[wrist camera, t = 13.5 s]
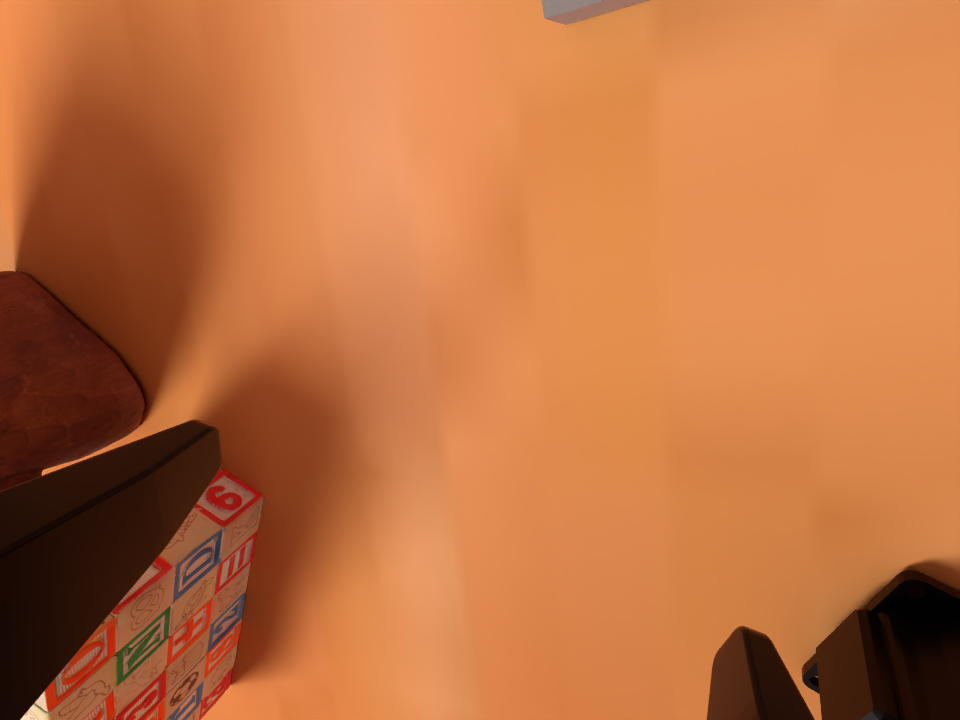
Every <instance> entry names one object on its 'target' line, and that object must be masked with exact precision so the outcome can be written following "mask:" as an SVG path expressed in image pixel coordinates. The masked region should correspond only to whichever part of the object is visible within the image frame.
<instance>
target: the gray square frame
mask: <svg viewBox="0 0 960 720" xmlns="http://www.w3.org/2000/svg"><path fill="white" fill-rule="evenodd" d="M645 1H648V0H542V4H543V11H544V18H545V19H548V20H551V21H555V22H558V23H562V24H565V25H567V24H570V23H574V22H577V21H580V20H584V19H587V18H590V17H594V16H597V15H601V14H604V13H607V12H611V11H614V10H618V9H621V8H624V7H628V6H631V5H634V4H638V3H641V2H645Z"/></svg>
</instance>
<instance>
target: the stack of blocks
mask: <svg viewBox="0 0 960 720" xmlns="http://www.w3.org/2000/svg"><path fill="white" fill-rule="evenodd" d="M263 500H264V496H263V495H262V494H260V493H259V492H257V491H256V490H254V489H253V488H251V487H250V486H248V485H247V484H245V483H244V482H242V481H240V480H239V479H237V478H236V477H234V476H233V475H231V474H230V473H228V472H226V471H225V470H223V469H221V468H220V469H219V471H218V473H217V474H216V476H215V477H214V479H213V480H212V482H211V483H210V484H209V486H208V487H207V489H206V490H205V492H204V493H203V495H202V496H201V498H200V499H199V501H198V502H197V503H196V505H195V506H194V508H193V509H192V511H191V512H190V514H189V515H188V517H187V518H186V520H185V521H184V522H183V524H182V525H181V527H180V528H179V530H178V531H177V533H176V534H175V536H174V537H173V538H172V540H171V541H170V542H169V544H168V545H167V546H166V548H165V549H164V550H163V551H162V553H161V554H160V555H159V556H158V558H157V559H156V560H155V561H154V562H153V564H152V565H151V566H150V567H149V568H148V569H147V571H146V572H145V573H144V574H143V575H142V577H141V578H140V579H139V580H138V581H137V582H136V584H135V585H134V586H133V587H132V588H131V590H130V591H129V592H128V593H127V594H126V595H125V597H124V598H123V599H122V600H121V601H120V603H119V604H118V605H117V606H116V607H115V608H114V610H113V611H112V612H111V613H110V614H109V616H108V617H107V618H106V619H105V620H104V621H103V623H102V624H101V625H100V626H99V627H98V629H97V630H96V631H95V632H94V633H93V634H92V636H91V637H90V638H89V639H88V640H87V642H86V643H85V644H84V645H83V646H82V647H81V649H80V650H79V651H78V652H77V653H76V655H75V656H74V657H73V658H72V659H71V661H70V662H69V663H68V664H67V665H66V666H65V668H64V669H63V670H62V671H61V672H60V674H59V675H58V676H57V677H56V678H55V679H54V681H53V682H52V683H51V684H50V685H49V687H48V688H47V689H46V690H45V691H44V692H43V694H42V695H41V696H40V697H39V698H38V700H37V701H36V702H35V703H34V704H33V705H32V707H31V708H30V709H29V710H28V711H27V713H26V714H25V715H24V716H23V717H22V718H21V720H200V719H201V718H202V717H203V716H204V715H205V714H206V713H207V712H208V711H209V709H210V708H211V707H212V706H213V705H214V704H215V703H216V702H217V701H218V699H219V698H220V697H221V696H222V695H223V694H224V692H225V691H226V690H227V689H228V688H229V686H230V681H231V673H232V668H233V665H234V663H235V657H236V652H237V643H238V640H239V635H240V630H241V624H242V618H241V617H242V613H243V607H244V601H245V596H246V588H247V582H248V577H249V571H250V564H251V562H252V559H253V554H254V548H255V542H256V536H257V531H258V527H259V522H260V517H261V511H262V505H263Z"/></svg>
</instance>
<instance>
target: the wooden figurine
mask: <svg viewBox="0 0 960 720" xmlns="http://www.w3.org/2000/svg"><path fill="white" fill-rule="evenodd" d="M144 408H145V404H144V399H143V396H142V393H141V390H140V388H139V386H138V384H137V382H136V380H135V379H134V378H133V376H132V375H131V374H130V373H129V371H128V370H127V369H126V367H125V366H124V364H123V362H122V361H121V359H120V358H119V357H118V355H117V354H116V353H115V352H114V351H113V350H111V349H110V348H109V347H108V346H107V345H106V344H105V343H104V342H103V341H101V340H100V339H99V338H98V337H97V336H96V335H95V334H94V333H93V332H91V331H90V330H89V329H87V328H86V327H85V326H84V325H83V324H82V323H81V322H80V321H79V320H77V319H76V318H75V317H73V316H72V315H71V314H70V313H69V312H68V311H67V310H66V309H65V308H64V307H63V306H62V305H61V304H60V303H59V302H58V301H56V300H55V299H54V298H53V297H52V296H51V295H50V294H49V293H48V292H46V291H45V290H44V289H43V288H42V287H41V286H40V285H39V284H38V283H36V282H35V281H34V280H33V279H32V278H31V277H30V276H29V275H28V274H26V273H21V272H14V271H3V272H0V491H2V490H5V489H8V488H10V487H13V486H16V485H19V484H21V483H24V482H27V481H29V480H32V479H35V478H37V477H40V476H41V475H42V471H43V470H44V469H47V468H50V467H54V466H57V465H60V464H63V463H67V462H71V461H74V460H77V459H80V458H83V457H85V456H88V455H90V454H92V453H94V452H96V451H98V450H100V449H102V448H104V447H107V446H109V445H110V444H112V443H114V442H116V441H118V440H120V439H122V438H124V437H126V436H127V435H129V434H130V433H132V432H133V431H134V430H136V429H137V428H138V427H139V424H140V422H141V420H142V414H143V410H144Z"/></svg>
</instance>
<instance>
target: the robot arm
mask: <svg viewBox="0 0 960 720" xmlns="http://www.w3.org/2000/svg"><path fill="white" fill-rule="evenodd" d="M221 462H222V455H221V444H220V433H219V430H218V428H217V427H216V426H214V425H211V424H209V423H206V422H203V421H201V420H191V421H188V422H185V423H183V424H180V425H177V426H175V427H172V428H169V429H166V430H164V431H161V432H158V433H156V434H153V435H150V436H148V437H145V438H142V439H140V440H137V441H134V442H132V443H129V444H126V445H123V446H121V447H118V448H115V449H113V450H110V451H107V452H105V453H102V454H99V455H97V456H94V457H91V458H88V459H86V460H83V461H80V462H78V463H75V464H72V465H70V466H67V467H64V468H62V469H59V470H56V471H54V472H51V473H48V474H45V475H43V476H40V477H37V478H35V479H32V480H29V481H27V482H24V483H21V484H19V485H16V486H13V487H10V488H8V489H5V490H2V491H0V720H21V718H22V717H23V716H24V715H25V714H26V713H27V711H28V710H29V709H30V708H31V707H32V705H33V704H34V703H35V702H36V701H37V700H38V698H39V697H40V696H41V695H42V694H43V692H44V691H45V690H46V689H47V688H48V687H49V685H50V684H51V683H52V682H53V681H54V679H55V678H56V677H57V676H58V675H59V674H60V672H61V671H62V670H63V669H64V668H65V666H66V665H67V664H68V663H69V662H70V661H71V659H72V658H73V657H74V656H75V655H76V653H77V652H78V651H79V650H80V649H81V647H82V646H83V645H84V644H85V643H86V642H87V640H88V639H89V638H90V637H91V636H92V634H93V633H94V632H95V631H96V630H97V629H98V627H99V626H100V625H101V624H102V623H103V621H104V620H105V619H106V618H107V617H108V616H109V614H110V613H111V612H112V611H113V610H114V608H115V607H116V606H117V605H118V604H119V603H120V601H121V600H122V599H123V598H124V597H125V595H126V594H127V593H128V592H129V591H130V590H131V588H132V587H133V586H134V585H135V584H136V582H137V581H138V580H139V579H140V578H141V577H142V575H143V574H144V573H145V572H146V571H147V569H148V568H149V567H150V566H151V565H152V564H153V562H154V561H155V560H156V559H157V558H158V556H159V555H160V554H161V553H162V551H163V550H164V549H165V548H166V546H167V545H168V544H169V542H170V541H171V540H172V538H173V537H174V536H175V534H176V533H177V531H178V530H179V528H180V527H181V525H182V524H183V522H184V521H185V520H186V518H187V517H188V515H189V514H190V512H191V511H192V509H193V508H194V506H195V505H196V503H197V502H198V501H199V499H200V498H201V496H202V495H203V493H204V492H205V490H206V489H207V487H208V486H209V484H210V483H211V482H212V480H213V479H214V477H215V476H216V474H217V473H218V471H219V469H220V466H221ZM915 585H916V586H920V587H921V588H919V589H910V588H907V587H909V586H915ZM814 676H818V678H817V677H814ZM802 678H803V682H804V684H805V685H806V686H807V687H809V688H810V689H812V690H814V691H815V692H817V693H819V694H820V703H821V714H822V720H960V592H959V591H957V590H955V589H953V588H951V587H949V586H947V585H945V584H943V583H941V582H939V581H937V580H935V579H933V578H931V577H929V576H927V575H925V574H923V573H920V572H917V571H905V572H902V573H900V574H898V575H897V576H896V577H895V578H894V579H893V580H892V581H891V582H890V583H889V584H888V585H887V586H886V587H884V588H883V589H882V590H881V591H880V592H879V593H878V594H877V595H876V596H875V597H874V598H873V599H872V600H871V601H870V602H869V603H868V604H867V605H866V606H865V607H864V608H860V609H857V610H855V611H854V612H853V613H852V614H851V615H850V616H849V617H848V618H847V619H846V620H845V621H843V622H842V623H841V624H840V625H839V626H838V627H837V628H836V629H835V630H834V631H833V632H832V633H831V634H830V635H829V636H828V637H827V638H826V639H825V640H824V641H823V642H822V643H821V644H820V645H819V646H818V647H817V648H816V654H815V655H814V656H813V657H812V658H811V659H810V660H809V661H807V662H806V663H805V664H804V665H803V667H802ZM707 720H815V719H814V718H813V716H812V714H811V712H810V710H809V708H808V707H807V705H806V703H805V701H804V699H803V697H802V696H801V694H800V692H799V690H798V688H797V686H796V685H795V683H794V681H793V679H792V677H791V675H790V674H789V672H788V670H787V668H786V666H785V665H784V663H783V661H782V659H781V657H780V655H779V654H778V652H777V650H776V648H775V646H774V644H773V643H772V641H771V640H770V638H769V637H768V636H767V635H765V634H763V633H761V632H758V631H756V630H753V629H750V628H748V627H745V626H740V627H737V628H736V629H735V630H734V632H733V633H732V634H731V635H730V637H729V638H728V639H727V640H726V641H725V643H724V644H723V645H722V646H721V648H720V649H719V650H718V652H717V653H716V655H715V658H714V661H713V666H712V675H711V684H710V694H709V704H708V713H707Z"/></svg>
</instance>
